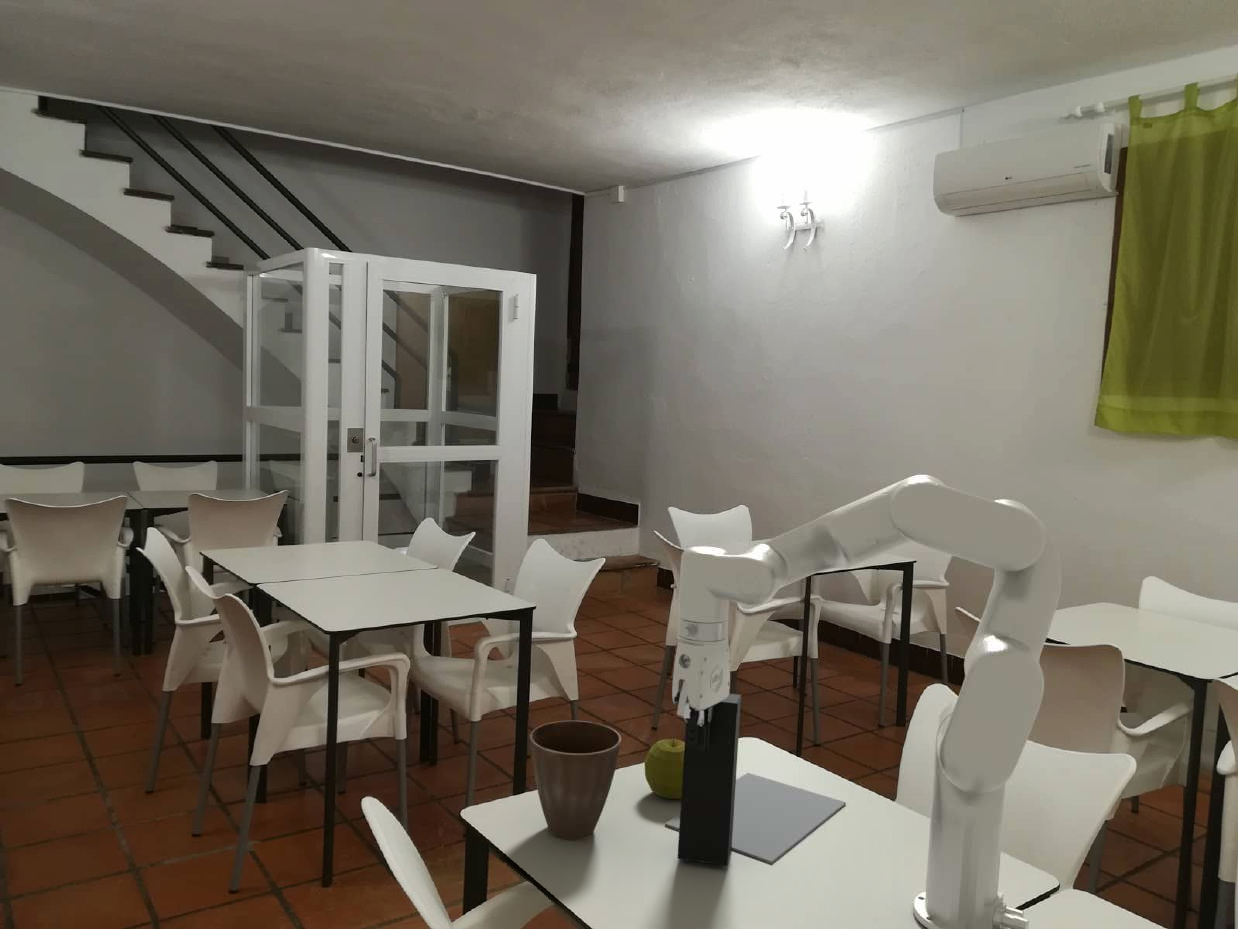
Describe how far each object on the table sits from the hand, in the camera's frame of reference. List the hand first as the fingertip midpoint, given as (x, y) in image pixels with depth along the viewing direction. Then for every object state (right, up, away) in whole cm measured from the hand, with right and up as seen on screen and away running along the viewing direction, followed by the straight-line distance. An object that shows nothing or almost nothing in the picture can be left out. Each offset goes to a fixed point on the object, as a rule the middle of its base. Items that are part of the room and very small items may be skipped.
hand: (696, 747), depth 147 cm
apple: (-2, -17, +28) cm, 33 cm away
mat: (+13, -18, +21) cm, 31 cm away
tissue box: (+2, -19, +5) cm, 19 cm away
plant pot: (-20, -18, +12) cm, 29 cm away
